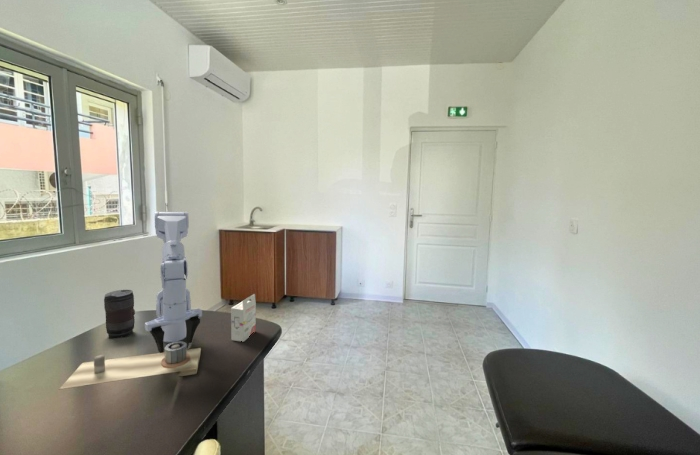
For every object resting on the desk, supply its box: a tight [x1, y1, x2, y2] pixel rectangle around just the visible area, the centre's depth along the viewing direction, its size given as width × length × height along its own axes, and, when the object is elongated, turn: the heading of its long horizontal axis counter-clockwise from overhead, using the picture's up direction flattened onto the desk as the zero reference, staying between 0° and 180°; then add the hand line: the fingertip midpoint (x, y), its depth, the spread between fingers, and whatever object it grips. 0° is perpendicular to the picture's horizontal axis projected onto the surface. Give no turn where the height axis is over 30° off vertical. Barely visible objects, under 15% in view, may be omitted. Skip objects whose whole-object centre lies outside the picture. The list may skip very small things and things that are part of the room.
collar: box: [164, 340, 188, 364], centre depth 87 cm, size 5×5×4 cm
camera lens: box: [103, 289, 136, 340], centre depth 103 cm, size 8×8×15 cm
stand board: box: [59, 345, 202, 390], centre depth 84 cm, size 12×30×6 cm, turn 111°
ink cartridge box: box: [230, 293, 257, 343], centre depth 107 cm, size 9×5×15 cm, turn 168°
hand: (175, 346), depth 87 cm, fingers open, 7 cm apart
